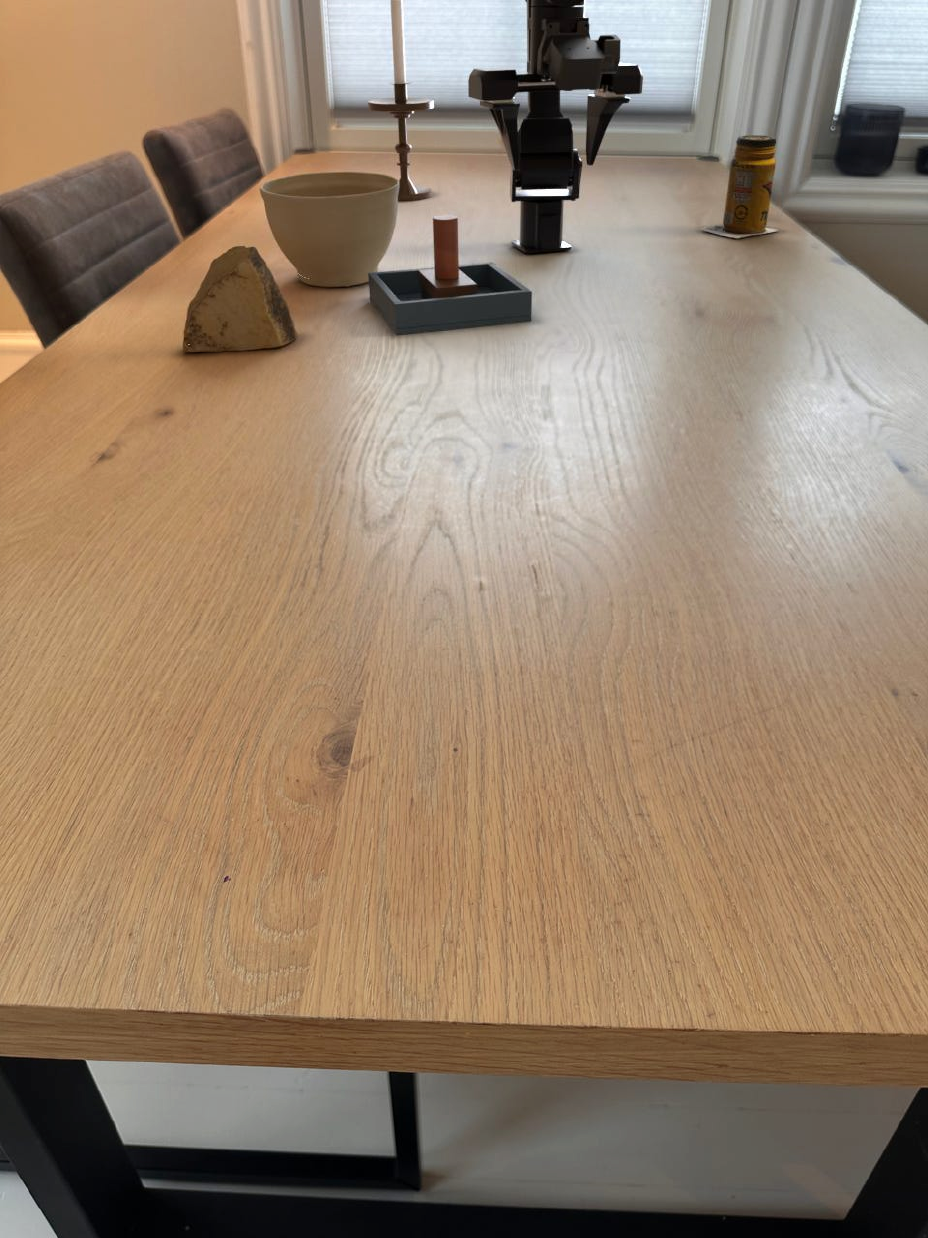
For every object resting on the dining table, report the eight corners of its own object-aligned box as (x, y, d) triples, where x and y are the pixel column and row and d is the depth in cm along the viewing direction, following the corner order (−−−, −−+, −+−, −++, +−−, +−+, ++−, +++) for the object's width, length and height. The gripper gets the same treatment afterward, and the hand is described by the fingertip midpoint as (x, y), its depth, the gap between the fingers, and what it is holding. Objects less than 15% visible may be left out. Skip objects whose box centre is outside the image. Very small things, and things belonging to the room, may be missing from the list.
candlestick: (448, 193, 164) (443, -54, 145) (413, 203, 157) (402, -56, 137) (398, 188, 169) (386, -51, 150) (361, 197, 162) (343, -53, 142)
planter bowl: (244, 281, 115) (231, 184, 109) (344, 257, 125) (337, 167, 119) (330, 304, 106) (320, 200, 100) (431, 276, 116) (427, 179, 110)
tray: (369, 300, 107) (367, 272, 105) (492, 289, 110) (492, 261, 109) (396, 335, 96) (394, 304, 94) (531, 321, 99) (532, 290, 98)
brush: (419, 297, 106) (415, 211, 101) (457, 294, 107) (455, 208, 102) (437, 316, 99) (434, 225, 94) (477, 313, 100) (476, 222, 95)
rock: (152, 338, 89) (244, 330, 86) (159, 250, 89) (251, 239, 86) (217, 376, 99) (301, 370, 96) (223, 296, 100) (307, 288, 96)
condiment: (778, 231, 134) (793, 137, 127) (736, 239, 130) (750, 142, 124) (740, 223, 139) (752, 132, 132) (698, 230, 135) (709, 137, 129)
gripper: (498, 8, 92) (497, 183, 101) (672, 4, 96) (657, 172, 105) (465, 8, 101) (468, 168, 109) (626, 4, 105) (616, 159, 114)
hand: (552, 167), depth 109 cm, fingers open, 9 cm apart
